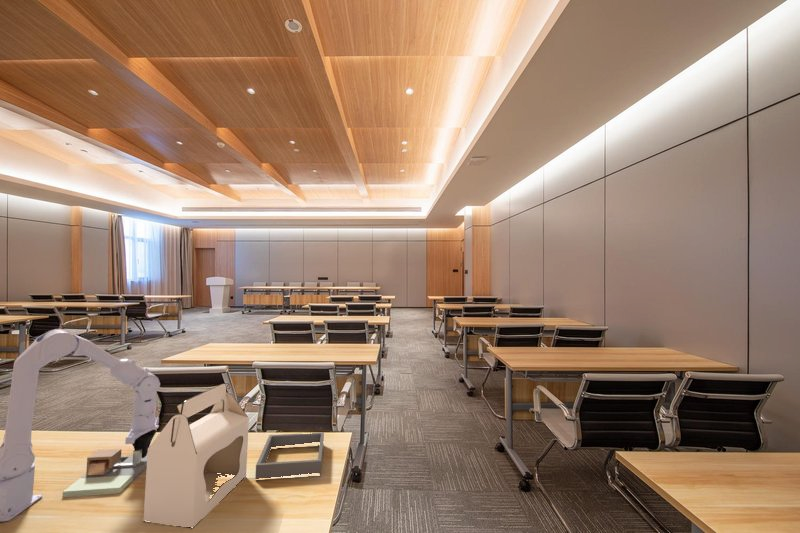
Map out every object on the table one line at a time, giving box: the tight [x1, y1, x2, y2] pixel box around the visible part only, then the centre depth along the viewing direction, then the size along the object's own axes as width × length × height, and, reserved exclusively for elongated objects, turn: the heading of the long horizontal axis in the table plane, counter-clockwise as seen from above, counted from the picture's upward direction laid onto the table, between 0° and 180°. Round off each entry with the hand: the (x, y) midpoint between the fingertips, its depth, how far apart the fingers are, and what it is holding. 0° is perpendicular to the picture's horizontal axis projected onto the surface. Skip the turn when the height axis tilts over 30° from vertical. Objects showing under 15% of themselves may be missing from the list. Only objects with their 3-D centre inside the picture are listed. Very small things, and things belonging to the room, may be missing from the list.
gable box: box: [142, 383, 250, 528], centre depth 92 cm, size 22×13×28 cm, turn 172°
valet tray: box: [255, 431, 325, 479], centre depth 110 cm, size 20×19×4 cm
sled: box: [88, 449, 142, 476], centre depth 101 cm, size 8×10×4 cm
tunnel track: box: [62, 448, 147, 498], centre depth 100 cm, size 18×13×6 cm
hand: (141, 457), depth 105 cm, fingers closed
